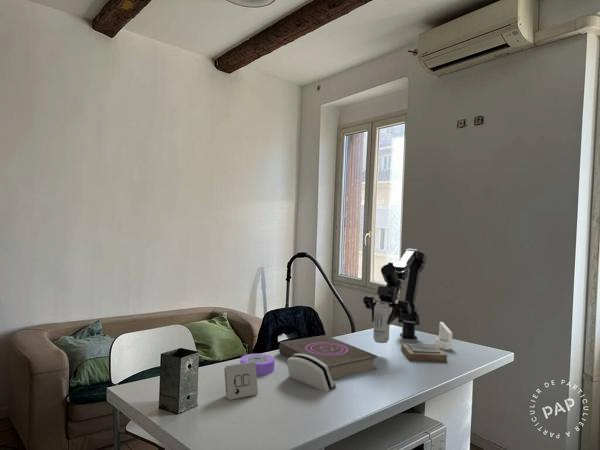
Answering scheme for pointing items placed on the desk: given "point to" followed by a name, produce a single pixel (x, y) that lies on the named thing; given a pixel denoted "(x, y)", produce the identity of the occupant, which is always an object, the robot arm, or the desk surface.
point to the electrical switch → (241, 380)
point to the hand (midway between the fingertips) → (380, 322)
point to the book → (331, 354)
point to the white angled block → (444, 337)
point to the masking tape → (260, 362)
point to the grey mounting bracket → (310, 371)
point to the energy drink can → (381, 322)
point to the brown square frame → (423, 352)
